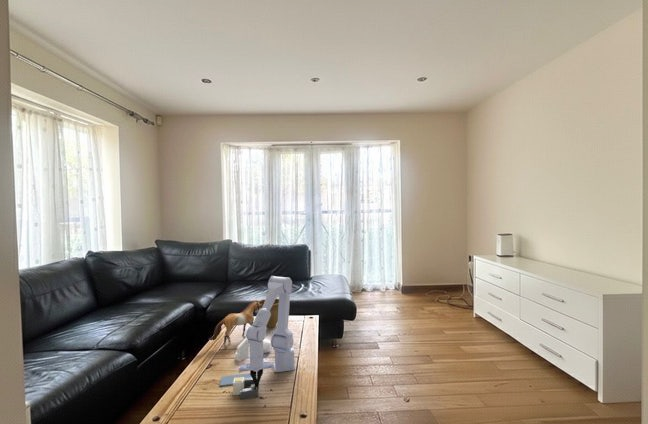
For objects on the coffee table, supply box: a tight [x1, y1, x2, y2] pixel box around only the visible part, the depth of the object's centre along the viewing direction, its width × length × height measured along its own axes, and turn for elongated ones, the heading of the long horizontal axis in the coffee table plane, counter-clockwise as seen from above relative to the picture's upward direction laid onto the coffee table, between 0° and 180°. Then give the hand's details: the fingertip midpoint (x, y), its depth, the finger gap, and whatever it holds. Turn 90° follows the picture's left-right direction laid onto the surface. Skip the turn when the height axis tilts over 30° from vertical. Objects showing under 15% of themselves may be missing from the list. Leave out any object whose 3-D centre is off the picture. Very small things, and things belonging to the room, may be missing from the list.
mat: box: [219, 372, 251, 388], centre depth 134 cm, size 13×7×1 cm, turn 101°
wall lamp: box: [232, 377, 255, 396], centre depth 126 cm, size 9×4×5 cm, turn 98°
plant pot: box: [257, 298, 279, 329], centre depth 198 cm, size 15×15×16 cm
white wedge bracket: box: [234, 338, 250, 362], centre depth 155 cm, size 4×10×9 cm, turn 141°
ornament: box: [263, 338, 273, 354], centre depth 161 cm, size 6×7×7 cm
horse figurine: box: [208, 300, 260, 350], centre depth 174 cm, size 31×8×21 cm, turn 134°
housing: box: [239, 377, 259, 400], centre depth 126 cm, size 7×10×3 cm
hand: (256, 386), depth 127 cm, fingers closed
